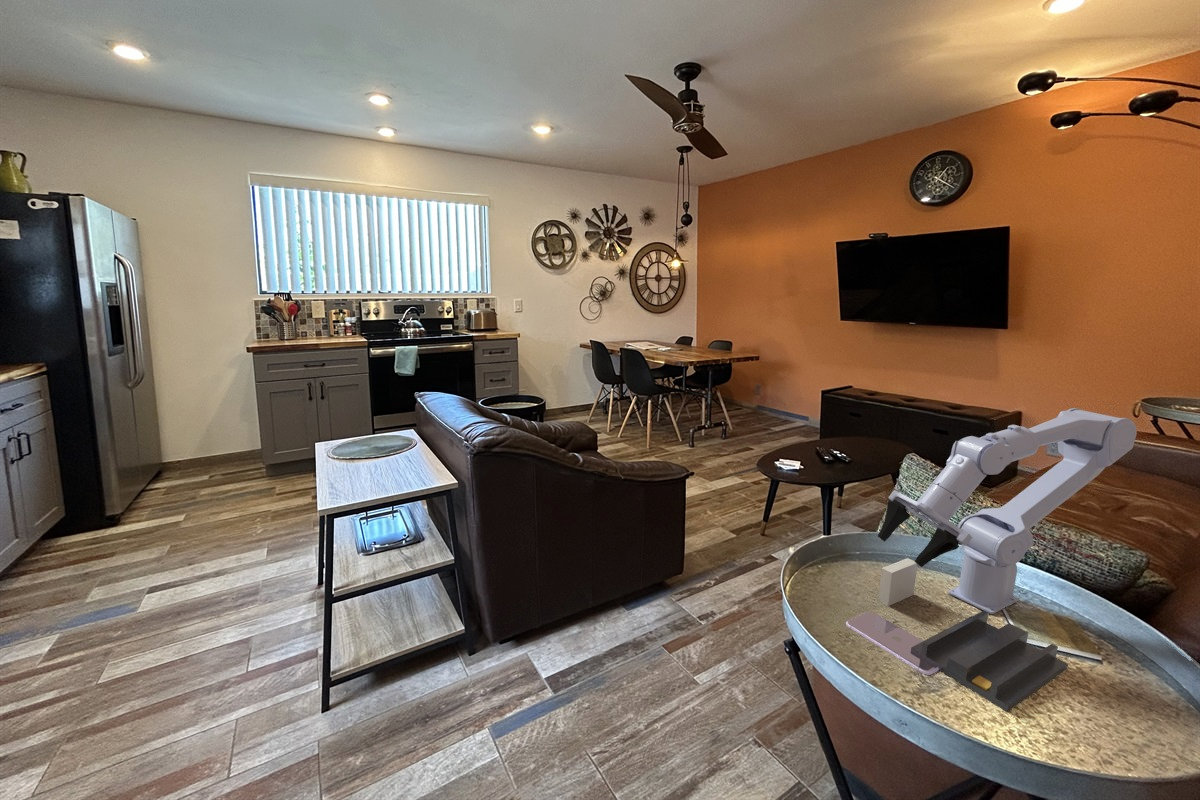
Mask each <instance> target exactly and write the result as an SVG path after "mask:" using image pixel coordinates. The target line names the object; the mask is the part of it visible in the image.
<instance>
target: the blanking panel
mask: <svg viewBox="0 0 1200 800" xmlns="http://www.w3.org/2000/svg"><path fill="white" fill-rule="evenodd" d="M917 571H918V564H917V563H916V562H915V560H913V559H910V558H908V557H907V558H904V559H901V560H899V561H897V562H894V563H891V564H889V565H886V566H883V567H881V573H880V583H879V590H878V597H877V598H878V599H877V601H878V602H880V603H881V604H883V605H885V606H887V607H890V606H891V605H893V604H895V603H899V602H901V601H902V600H905V599H907V598H909V597H911V596H914V594H915V585H916V578H917Z"/></svg>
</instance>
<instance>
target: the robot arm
mask: <svg viewBox="0 0 1200 800" xmlns="http://www.w3.org/2000/svg"><path fill="white" fill-rule="evenodd" d="M1136 438H1137V427H1136V424H1135V422H1134V421H1133V420H1132V419H1130V418H1127V417H1117V416H1111V415H1108V414H1101V413H1098V412H1094V411H1093V412H1092V411H1087V410H1084V409H1081V408H1076V407H1073V408H1069V409H1067V410H1061V411H1060V412H1059V413H1058V415H1057V417H1055V418H1052V419H1050V420H1047V421H1045V422H1042V423H1040V424H1037V425H1035V426H1032V427H1030V428H1027V427H1025V426H1021V425H1020V426H1019V425H1016V424H1010V425H1008V426H1007V429H1003V430H1000V431H996V432H988V433H986V434H985V435H983V436H981V437H978V436H974V435H970V436H966V437H963V438H961V439H959V440H955V442H954V443H953V445H952V448H951V452H950V455H949V457H948V459H947V460H946V463H945V465H946V466H945V467H944V468H942V470H941V472H939V474H938V475H937V477H935V479H933V480H932V482H931V484H930V485H929V486H928V487H927V489H926V490H925V491H924V492H923V493H922V495H921V496H920V497H919V498H918V499H917V500H915V499H912V498H910V497H908V496H907V495H905V494H902V493H900V492H899V491H898V490H895V489H894V490H893V491H892V492H891V493H890V495H889V496H888V497H887V498H888V499H889V500H888V502H887V506H886V507H887V508H886V513H885V518H884V521H883V524H882V526H881V529H880V530H879V532H878V534H877V537H878V538H879V539H880V540H881V541H883V542H886V541H887V540H888V539H889V538H890V537H891V535H892V534H893V533H894V532H895V531H896V530H897V528H898V527H900V525H902V524H903V523H904V522H905V521H907V520H908V519H909V518H910V517H911V516H912V515H911V514H913V515H915V516H916V517H918V518H920V519H921V520H923V521H925V522H926V523H927V524H929V525H931V526H933V527H934V528H936V529H935V532H934V534H933V536H932V537H931V538H930V540H929V542H928V544H927V545H926V546H925V547H924V548H923V550H922V551H920V553H919V554H918V555H917V557H915V559H914V561H915V562H916V563H917V566H919V567H920V568H923V567H924V566H925V565H926V564H928V563H930V562H931V561H932V560H934V559H936V558H937V557H940V556H941V555H943V554H946V553H949V552H952V551H955V550H957V549H958V548H959V547H960V546H959V544H961V547H960V548H961V550H963V551H964V552H963V556H962V557H963V558H962V565H961V572H960V577H959V585H958V586H956V587H954V588H952V589H949V590H947V593H948V594H949V595H951V596H953V597H955V598H957V599H959V600H962V601H963V602H965V603H968V604H970V605H972V606H974V607H975V608H977V609H979V610H981V611H985V612H987V613H988V614H990V615H994V614H996V613H998V612H1000V611H1002V610H1004V609H1006V608H1007V607H1009V606H1011V605H1013V604H1014V603H1017V602H1019V598H1018V597H1017V596H1014V592H1015V591H1014V590H1015V586H1016V585H1015V584H1016V580H1017V573H1018V566H1017V563H1019V562H1020V561H1021V560H1022V559H1023V558H1024V557H1025V554H1026V553H1027V551H1028V550H1029V549H1030V548H1031V547H1033V546H1034V537H1033V534H1032V532H1031V528H1032V527H1034V526H1035V525H1037V524H1038V523H1039V522H1040V521H1042V520H1043V519H1044V518H1046V517H1047V516H1048V515H1049V514H1050V513H1052V512H1053V511H1054V510H1056V509H1057V508H1058V507H1059V506H1061V505H1063V503H1064V502H1066V501H1067V500H1069V499H1070V498H1071V497H1072V496H1074V495H1075V494H1076V493H1077V492H1079V491H1080V490H1082V489H1083V487H1085V486H1087V484H1089V483H1091V481H1093V480H1094V479H1095V478H1097V477H1098V476H1099V475H1100V474H1101V473H1102V472H1103V471H1104V470H1105V468H1106V467H1107V468H1108V467H1110V466H1111V465H1113V464H1114V463H1116V462H1117V461H1118V460H1119V459H1121V458H1122V457H1123V456H1124V455H1126V454H1128V452H1130V451H1131V450H1132V449H1133V448H1134V445H1135V441H1136ZM1054 443H1057V451H1058V453H1059V454H1060V455H1061V456H1062V457H1063V459H1061V461H1059V462H1058V463H1057V464H1055V465H1054V466H1053V467H1051V468H1050V469H1049V470H1047V472H1045V473H1044V474H1043V475H1040V477H1038V478H1037V479H1036V480H1035V481H1033V482H1032V483H1031V484H1030V485H1028V486H1027V487H1026V488H1024V489H1023V490H1022V491H1021V492H1020V493H1018V494H1017V495H1015V496H1014V497H1013V498H1011V499H1010V500H1009V501H1008V502H1006V503H1005V504H1004V505H1003V506H1002V507H993V508H992V507H991V508H982V509H980V510H978V512H976V513H973V514H969V515H966V516H965V517H964V518H962V519H961V520H960V521H959V523H958V524H957V525H956V524H955V523H953V522H952V521H950V520H951V519H952V518H953V516H954V515H955V514H956V512H957V511H958V510H959V509H960V508H961V507H962V505H964V503H965V502H966V501H967V499H969V497H970V496H971V495H972V493H973V492H974V491H975V490H976V488H978V487H979V485H980V484H981V483H982V481H983V480H984V479H985V478H986V477H987V475H991V476H992V475H999V474H1000V473H1001V472H1003V471H1004V469H1005V468H1006V467H1007V466H1008V465H1011V463H1012V462H1016V461H1019V460H1022V459H1025V458H1028V457H1030V456H1031V457H1032V456H1033V455H1035V454H1036V453H1037V452H1038V451H1039V447H1041V446H1042V447H1043V446H1047V445H1052V444H1054ZM909 512H910V513H911V514H910V513H909ZM1005 607H1006V608H1005Z"/></svg>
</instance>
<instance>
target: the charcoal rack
mask: <svg viewBox="0 0 1200 800" xmlns="http://www.w3.org/2000/svg"><path fill="white" fill-rule="evenodd" d="M988 616H989V613H988V612H986V611H984V610H981V611H980V612H978V613H976V614H973V615H971V616H969V617H967V618H964V620H961V621H959V622H957V623H955V624H953V625H951V626H949V627H948V628H945V629H944V630H942V631H940V632H938V633H936V634H935V635H933V636H931V637H928V638H926V639H925V640H923V642H921V643H919V644H917V645H915V646H913V647H911V651H913V652H914V653H916V654H918V655H919V656H921V657H923V658H924V659H926V660H927V661H929V662H931V663H932V664H934V665H936V666H937V667H938V668H939V670H938V671H940V672H941V673H943V674H945V675H946V676H948V677H950V678H952V679H953V680H955V681H956V682H958V683H959V684H960V685H962V686H964V687H965V688H968V689H969V690H971V691H972V692H974V693H975V694H977V695H979V696H981V697H982V698H984V699H986V700H987V701H988V702H990V703H992V704H994V705H996V706H997V707H999V708H1000V709H1002V710H1004V711H1005V712H1007V713H1008V712H1009V711H1010V710H1012V709H1014V708H1015V707H1016V706H1018V705H1019V704H1021V703H1022V702H1023V701H1024V700H1026V699H1027V698H1029V697H1030V696H1032V695H1033V694H1035V693H1036V692H1038V691H1039V690H1040V689H1041V688H1043V687H1044V686H1046V685H1047V684H1049V683H1050V682H1051V681H1053V680H1054V679H1055V678H1058V676H1060V675H1061V674H1063V673H1064V672H1065V671H1067V670H1068V667H1069V663H1068V662H1066V661H1064V660H1062V659H1060V658H1057V653H1058V649H1059V648H1058V647H1059V646H1058V645H1056V644H1054V643H1051V644H1049V645H1047V646H1046V647H1044V648H1043V649H1039V648H1037V647H1036V646H1033V645H1031V644H1030V643H1028V637H1029V632H1028V631H1026V630H1024V629H1022V628H1021V627H1018V626H1016V625H1014V624H1012V623H1010V622H1009V623H1007V624H1005V625H1003V626H1001V627H1000V628H997V627H996V626H994V625H992V624H989V623H988V618H989V617H988Z"/></svg>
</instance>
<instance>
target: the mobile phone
mask: <svg viewBox="0 0 1200 800" xmlns="http://www.w3.org/2000/svg"><path fill="white" fill-rule="evenodd" d="M845 624H846V625H845V626H846V627H848V629H850V628H851V629H850V630H852V631H854V632H855V633H857V634H858V635H860V636H862V637H863V638H865V639H866V640H868V641H870V642H871V643H873V644H874V645H876V646H877V647H879V648H881V649H882V650H883V651H886V652H887V653H889V654H891V655H892V656H894V657H895V658H897V659H898V660H899V661H901V662H903V663H904V664H907V665H908V666H910V667H911V668H913V669H915V670H916V671H918V672H920V673H921V674H924V675H927V676H929V675H933V674H934V673H936V672H938V671H940V670H939V668H938V667H937V666H936V665H934V664H932V663H931V662H929V661H927V660H926V659H924V658H923V657H921V656H919V655H918V654H916V653H914V652H913V651H911V647H913V646H915V645H917V644H919V643H921V642H923V641H924V640H922V639H921V638H919V637H917V636H916V635H913V634H912V633H910V632H908V631H907V630H905V629H903V628H902V627H900V626H898V625H897V624H894V623H893V622H891V621H889V620H888V619H885V617H882V616H881V615H879V614H878V613H875V612H873V611H866V612H863V613H862V614H860V615H857V616H855V617H852V618H850V619H848V620H847V621H846V622H845Z"/></svg>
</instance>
